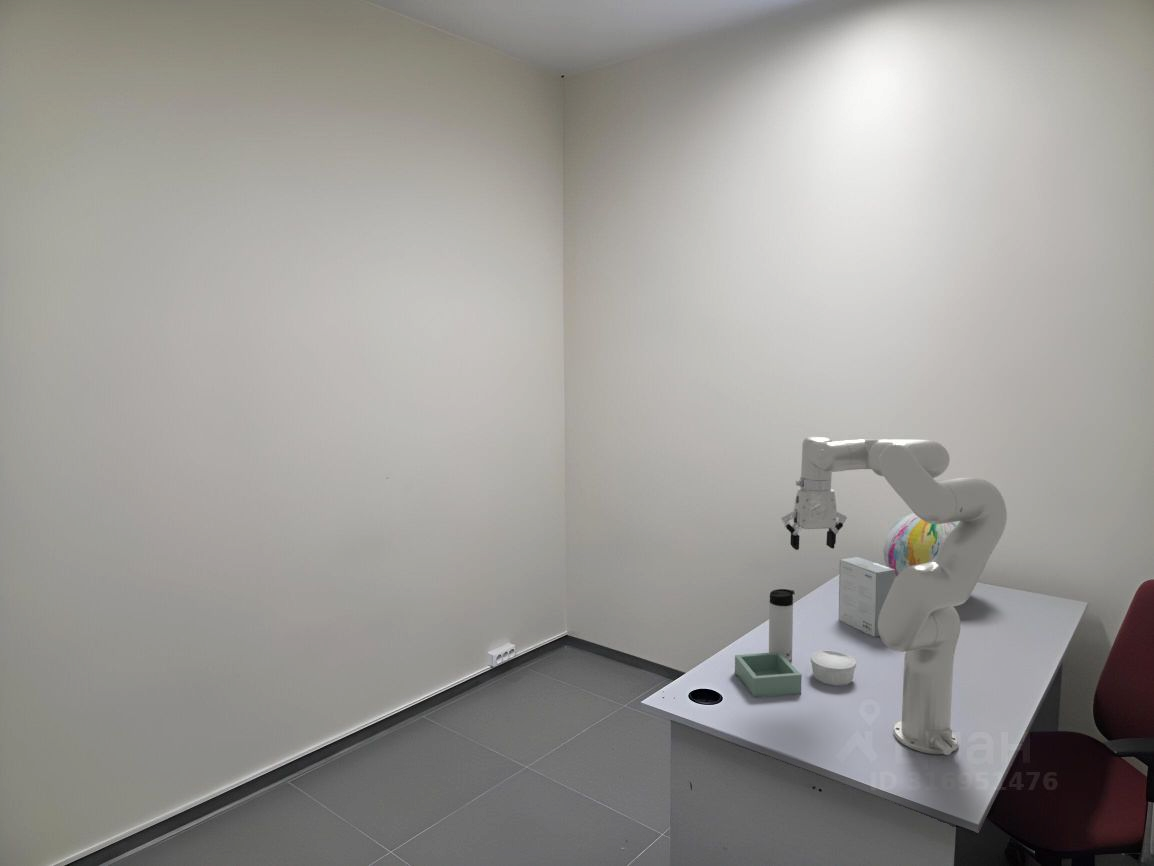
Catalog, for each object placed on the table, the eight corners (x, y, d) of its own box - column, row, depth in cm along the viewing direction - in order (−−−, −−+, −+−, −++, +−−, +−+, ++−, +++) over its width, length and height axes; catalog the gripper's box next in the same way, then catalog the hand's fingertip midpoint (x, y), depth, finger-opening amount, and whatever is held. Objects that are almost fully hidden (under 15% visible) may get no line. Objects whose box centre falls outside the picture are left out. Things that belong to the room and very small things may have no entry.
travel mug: (794, 666, 188) (795, 595, 186) (769, 664, 189) (770, 594, 187) (792, 656, 194) (793, 587, 192) (767, 654, 195) (768, 586, 193)
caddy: (801, 693, 173) (801, 674, 172) (753, 697, 171) (753, 678, 171) (779, 669, 186) (779, 651, 186) (734, 673, 185) (734, 655, 184)
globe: (863, 588, 247) (865, 506, 244) (930, 578, 256) (933, 499, 253) (928, 618, 219) (932, 526, 215) (1001, 606, 228) (1006, 517, 224)
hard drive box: (894, 633, 208) (896, 569, 206) (874, 638, 205) (876, 573, 203) (855, 616, 222) (857, 555, 220) (837, 619, 219) (838, 558, 217)
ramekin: (854, 671, 184) (855, 653, 184) (856, 691, 174) (857, 671, 173) (810, 666, 188) (811, 647, 187) (809, 684, 178) (810, 665, 177)
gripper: (789, 488, 175) (786, 553, 178) (854, 486, 177) (850, 551, 180) (778, 482, 183) (775, 544, 185) (840, 480, 184) (837, 542, 187)
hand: (812, 547), depth 182 cm, fingers open, 9 cm apart
